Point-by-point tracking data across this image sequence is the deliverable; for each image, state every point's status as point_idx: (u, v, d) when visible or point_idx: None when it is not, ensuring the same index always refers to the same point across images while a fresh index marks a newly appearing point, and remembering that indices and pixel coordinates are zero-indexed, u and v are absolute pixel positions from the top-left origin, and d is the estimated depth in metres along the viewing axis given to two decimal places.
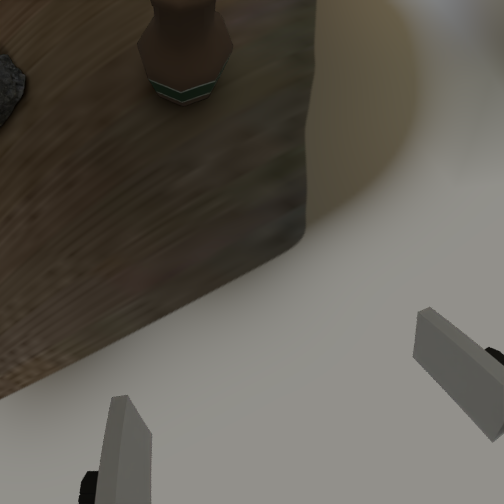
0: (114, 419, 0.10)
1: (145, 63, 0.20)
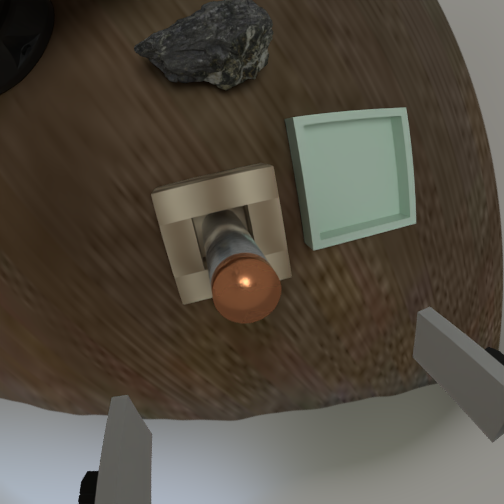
0: (114, 420, 0.10)
1: None
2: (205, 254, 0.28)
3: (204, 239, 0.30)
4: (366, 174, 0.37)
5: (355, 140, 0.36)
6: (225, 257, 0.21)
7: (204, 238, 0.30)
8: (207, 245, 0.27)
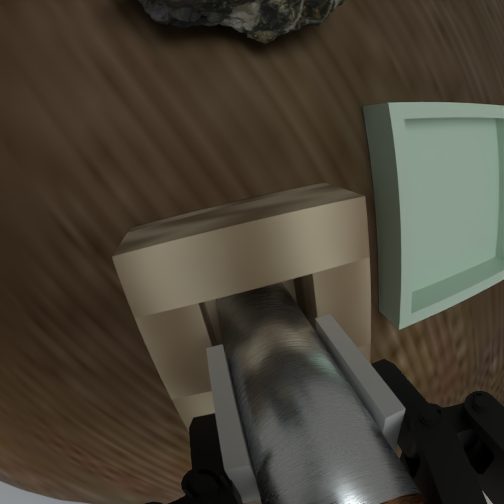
0: (216, 365, 0.12)
1: None
2: None
3: (229, 353, 0.14)
4: (468, 203, 0.21)
5: (459, 150, 0.20)
6: None
7: (228, 351, 0.14)
8: (243, 393, 0.11)
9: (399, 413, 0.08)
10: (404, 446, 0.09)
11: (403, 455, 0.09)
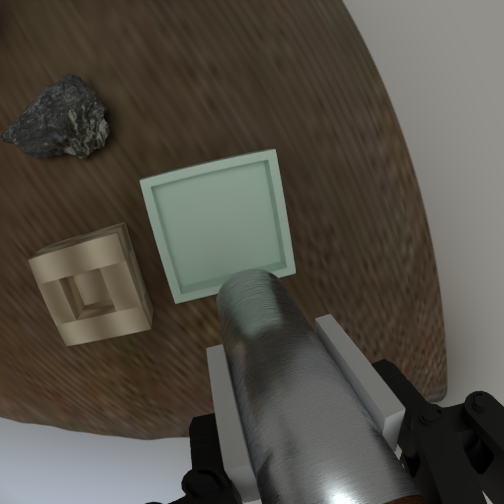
0: (216, 365, 0.12)
1: None
2: None
3: (229, 355, 0.14)
4: (234, 224, 0.38)
5: (219, 190, 0.37)
6: None
7: (229, 352, 0.14)
8: (243, 395, 0.11)
9: (399, 413, 0.08)
10: (404, 446, 0.09)
11: (403, 455, 0.09)
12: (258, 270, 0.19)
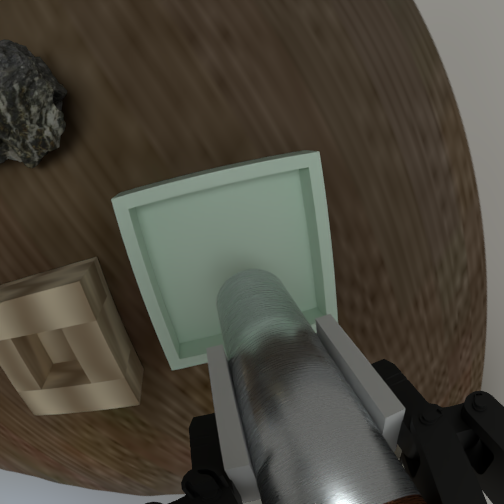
0: (216, 365, 0.12)
1: None
2: None
3: (229, 355, 0.14)
4: (254, 260, 0.26)
5: (232, 212, 0.25)
6: None
7: (229, 352, 0.14)
8: (243, 395, 0.11)
9: (399, 413, 0.08)
10: (404, 446, 0.09)
11: (403, 455, 0.09)
12: (258, 270, 0.19)
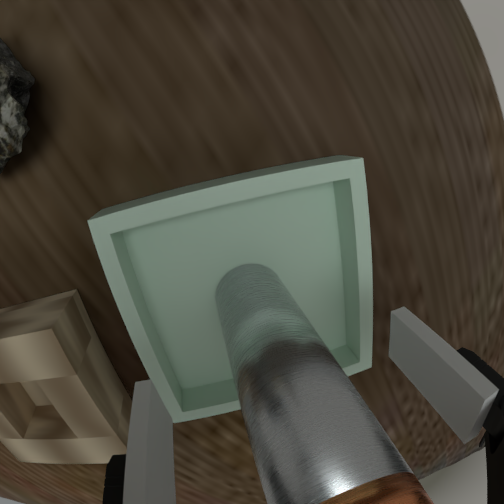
0: (139, 403, 0.11)
1: None
2: (236, 390, 0.12)
3: (228, 345, 0.15)
4: None
5: (248, 235, 0.19)
6: (321, 491, 0.06)
7: (228, 342, 0.15)
8: (242, 381, 0.12)
9: (493, 394, 0.07)
10: (490, 423, 0.08)
11: (487, 432, 0.08)
12: (255, 265, 0.20)
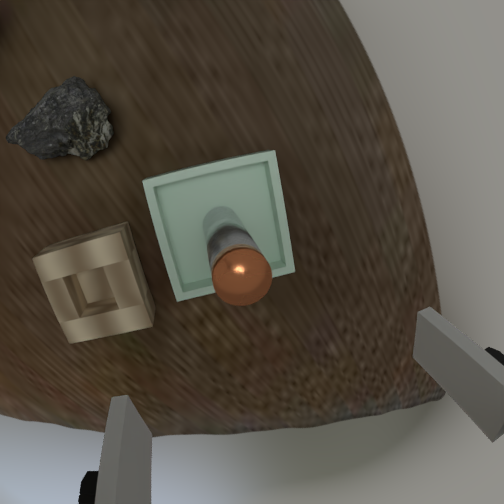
0: (114, 419, 0.10)
1: None
2: (206, 247, 0.31)
3: (205, 233, 0.33)
4: None
5: (220, 191, 0.38)
6: (223, 247, 0.24)
7: (205, 232, 0.33)
8: (208, 238, 0.30)
9: None
10: None
11: None
12: (223, 206, 0.38)
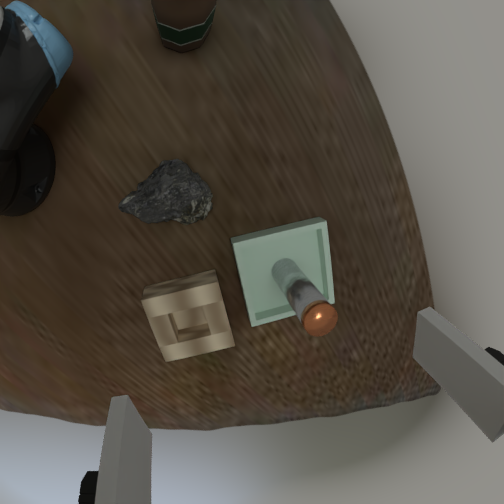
0: (114, 419, 0.10)
1: (197, 16, 0.28)
2: (285, 294, 0.46)
3: (281, 283, 0.48)
4: None
5: (285, 247, 0.52)
6: (309, 302, 0.39)
7: (281, 282, 0.48)
8: (288, 289, 0.45)
9: None
10: None
11: None
12: (287, 258, 0.53)
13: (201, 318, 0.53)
